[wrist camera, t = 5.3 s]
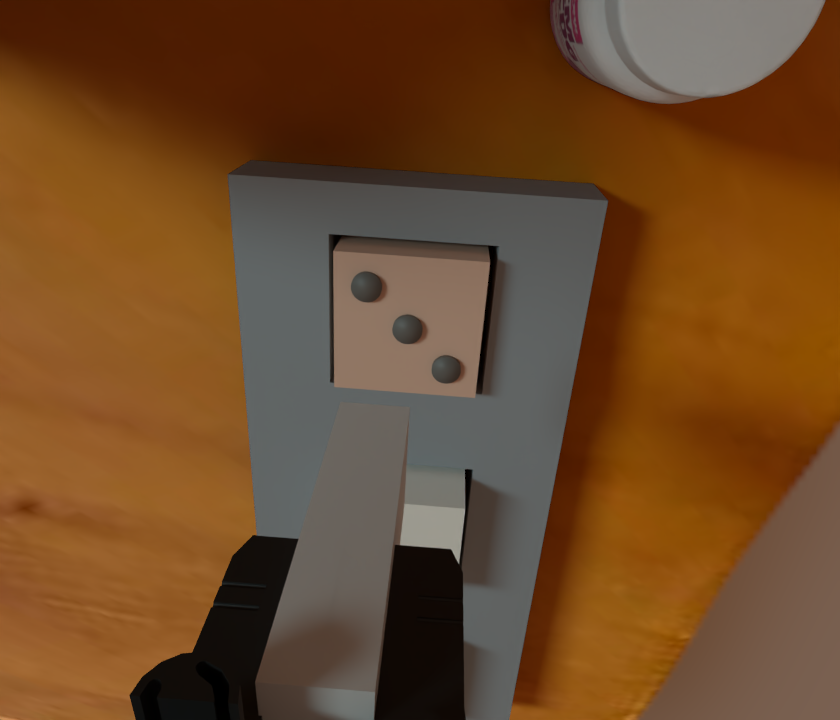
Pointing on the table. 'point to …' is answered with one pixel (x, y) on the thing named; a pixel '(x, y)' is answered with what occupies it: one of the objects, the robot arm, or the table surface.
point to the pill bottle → (680, 43)
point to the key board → (429, 414)
